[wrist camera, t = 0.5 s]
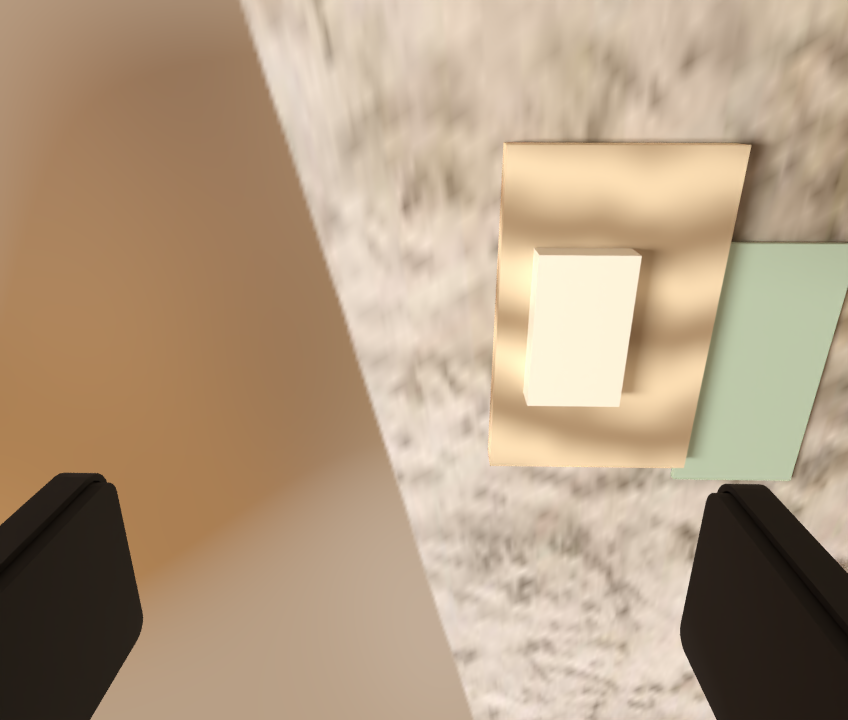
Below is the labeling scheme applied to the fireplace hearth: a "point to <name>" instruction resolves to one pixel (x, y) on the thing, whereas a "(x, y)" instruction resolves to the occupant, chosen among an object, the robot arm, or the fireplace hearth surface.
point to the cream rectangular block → (579, 325)
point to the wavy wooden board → (655, 298)
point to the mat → (765, 359)
